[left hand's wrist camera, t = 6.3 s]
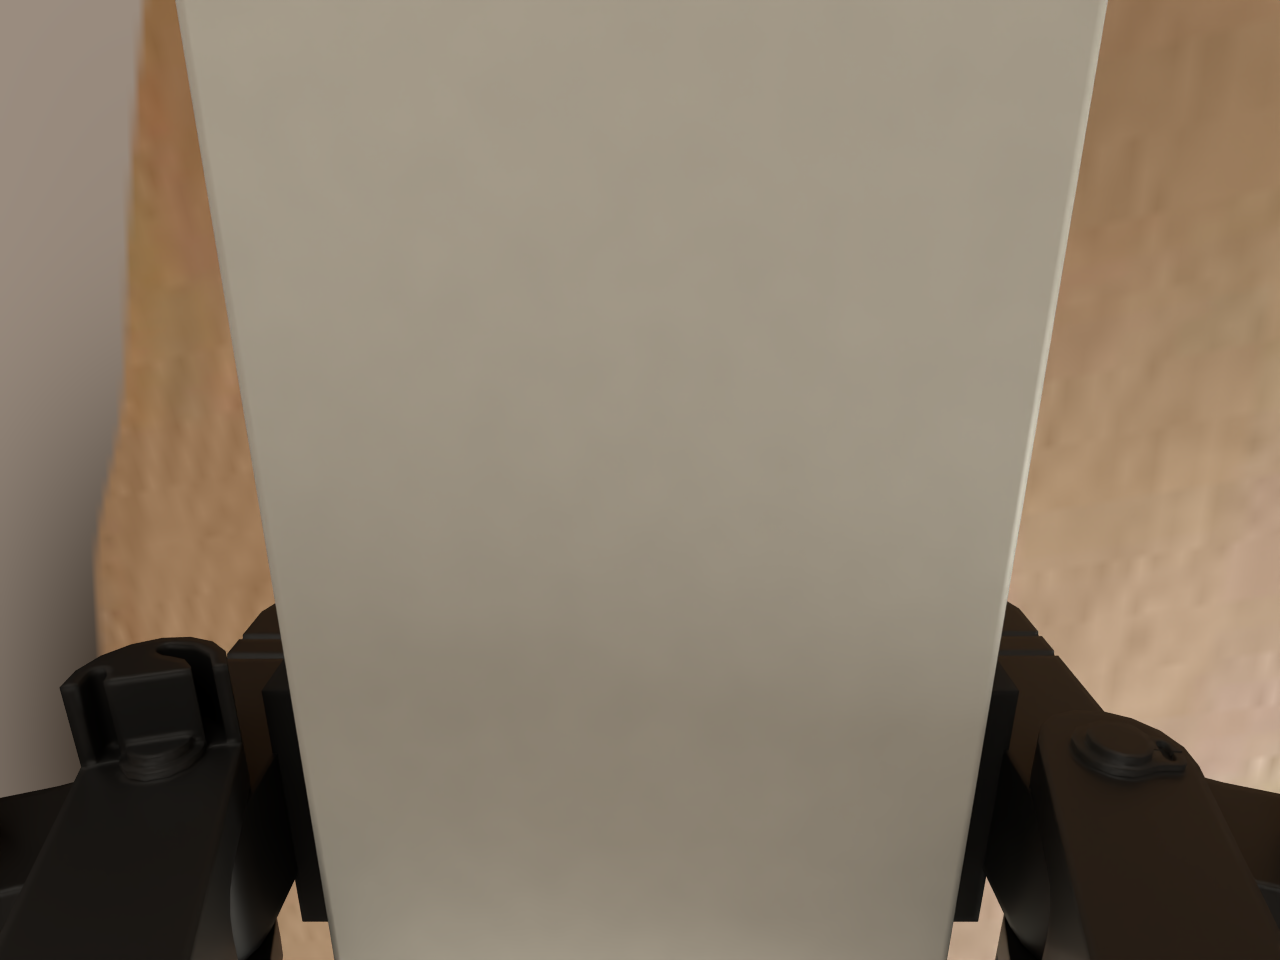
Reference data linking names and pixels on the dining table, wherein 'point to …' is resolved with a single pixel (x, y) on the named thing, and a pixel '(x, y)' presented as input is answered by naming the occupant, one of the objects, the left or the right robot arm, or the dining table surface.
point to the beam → (641, 446)
